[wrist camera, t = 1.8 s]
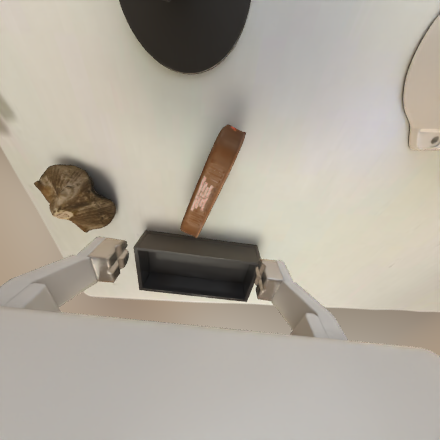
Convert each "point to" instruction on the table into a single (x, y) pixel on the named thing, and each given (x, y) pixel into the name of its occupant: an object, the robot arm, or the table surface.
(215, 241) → the open rectangular box
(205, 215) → the tin
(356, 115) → the table surface
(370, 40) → the table surface
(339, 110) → the table surface
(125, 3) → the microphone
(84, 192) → the fossilized seashell
